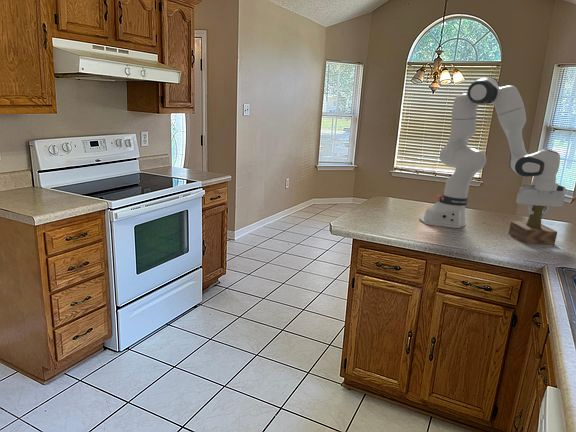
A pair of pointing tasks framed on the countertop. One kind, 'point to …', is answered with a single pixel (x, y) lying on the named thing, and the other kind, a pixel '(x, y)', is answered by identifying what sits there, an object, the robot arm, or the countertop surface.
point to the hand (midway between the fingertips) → (536, 214)
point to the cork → (535, 217)
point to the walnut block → (532, 233)
